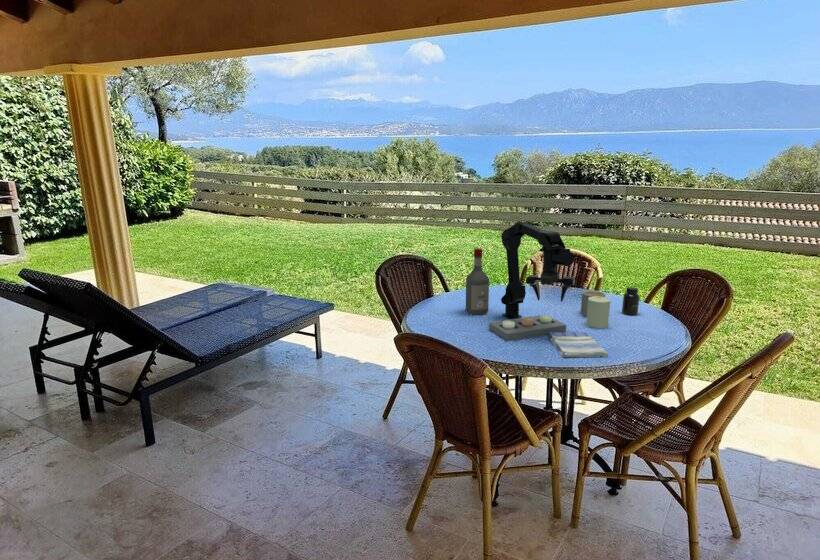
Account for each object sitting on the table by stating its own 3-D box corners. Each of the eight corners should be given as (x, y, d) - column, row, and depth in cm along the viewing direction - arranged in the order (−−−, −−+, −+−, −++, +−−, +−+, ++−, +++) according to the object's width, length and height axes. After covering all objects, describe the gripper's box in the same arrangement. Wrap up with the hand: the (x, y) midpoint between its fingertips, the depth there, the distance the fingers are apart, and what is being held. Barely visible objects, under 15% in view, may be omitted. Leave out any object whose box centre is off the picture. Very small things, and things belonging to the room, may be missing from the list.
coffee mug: (606, 317, 237) (607, 296, 234) (583, 317, 237) (585, 296, 235) (598, 308, 250) (599, 288, 247) (576, 308, 250) (578, 288, 248)
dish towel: (562, 359, 193) (563, 352, 193) (545, 336, 216) (546, 330, 215) (609, 359, 193) (610, 351, 193) (588, 336, 216) (588, 329, 215)
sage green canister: (607, 322, 231) (609, 295, 228) (609, 329, 223) (611, 301, 220) (585, 320, 234) (587, 294, 231) (586, 327, 225) (588, 300, 222)
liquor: (490, 314, 244) (492, 250, 236) (472, 316, 241) (474, 252, 233) (480, 308, 252) (482, 246, 245) (463, 310, 249) (464, 248, 241)
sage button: (537, 322, 226) (537, 316, 225) (547, 321, 228) (547, 314, 227) (543, 326, 221) (544, 319, 221) (553, 324, 223) (554, 318, 222)
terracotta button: (518, 325, 223) (519, 318, 222) (529, 323, 224) (529, 317, 224) (525, 329, 218) (525, 322, 218) (535, 327, 220) (536, 320, 219)
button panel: (488, 329, 224) (489, 322, 223) (545, 321, 233) (545, 314, 233) (507, 341, 210) (507, 334, 210) (565, 331, 220) (566, 325, 219)
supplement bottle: (635, 316, 238) (637, 291, 235) (619, 313, 242) (622, 288, 239) (639, 312, 243) (642, 287, 240) (624, 310, 247) (626, 285, 244)
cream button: (500, 328, 220) (500, 321, 219) (510, 326, 221) (510, 319, 221) (506, 332, 215) (506, 325, 214) (517, 330, 217) (517, 323, 216)
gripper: (522, 265, 210) (522, 304, 213) (570, 267, 202) (570, 307, 205) (529, 261, 220) (529, 298, 223) (575, 262, 212) (574, 300, 215)
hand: (550, 300), depth 216 cm, fingers open, 9 cm apart
